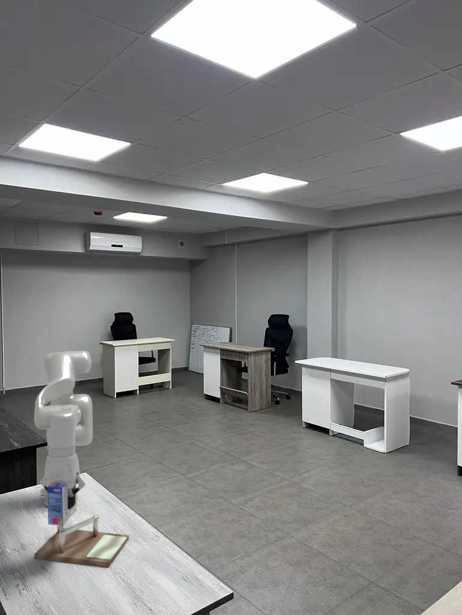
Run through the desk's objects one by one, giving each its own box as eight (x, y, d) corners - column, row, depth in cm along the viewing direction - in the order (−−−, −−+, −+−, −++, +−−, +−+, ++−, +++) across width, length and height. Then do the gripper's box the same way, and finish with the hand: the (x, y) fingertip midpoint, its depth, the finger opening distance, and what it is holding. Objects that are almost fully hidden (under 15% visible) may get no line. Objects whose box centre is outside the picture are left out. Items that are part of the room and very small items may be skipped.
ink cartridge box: (61, 509, 152) (61, 466, 151) (77, 510, 151) (77, 467, 150) (46, 524, 142) (46, 478, 141) (63, 526, 141) (63, 480, 141)
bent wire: (37, 550, 147) (37, 529, 147) (58, 530, 160) (58, 510, 160) (81, 555, 145) (81, 534, 144) (99, 534, 157) (99, 514, 157)
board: (34, 558, 146) (34, 552, 146) (61, 532, 161) (61, 526, 161) (109, 567, 142) (109, 561, 142) (128, 539, 157) (128, 534, 157)
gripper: (30, 452, 143) (30, 509, 144) (82, 456, 141) (81, 514, 141) (44, 444, 151) (44, 498, 151) (93, 448, 148) (93, 503, 149)
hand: (62, 505), depth 146 cm, fingers closed on ink cartridge box, 5 cm apart
